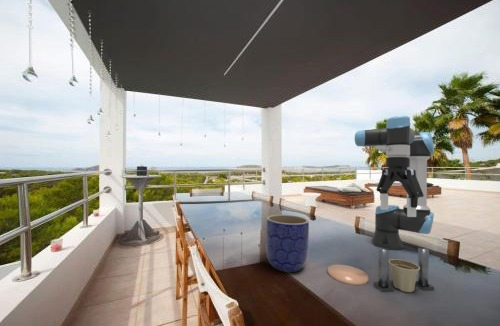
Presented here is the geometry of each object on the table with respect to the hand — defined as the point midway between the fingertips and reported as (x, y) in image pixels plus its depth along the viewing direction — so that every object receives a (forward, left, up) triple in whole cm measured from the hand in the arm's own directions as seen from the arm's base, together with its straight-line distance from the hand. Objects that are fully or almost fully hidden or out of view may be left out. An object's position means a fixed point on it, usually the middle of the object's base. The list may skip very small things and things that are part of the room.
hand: (396, 212), depth 82 cm
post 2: (-10, +2, -27) cm, 29 cm away
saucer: (+14, -8, -27) cm, 32 cm away
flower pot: (-2, +2, -27) cm, 27 cm away
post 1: (+6, +2, -27) cm, 28 cm away
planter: (+37, -17, -27) cm, 49 cm away
